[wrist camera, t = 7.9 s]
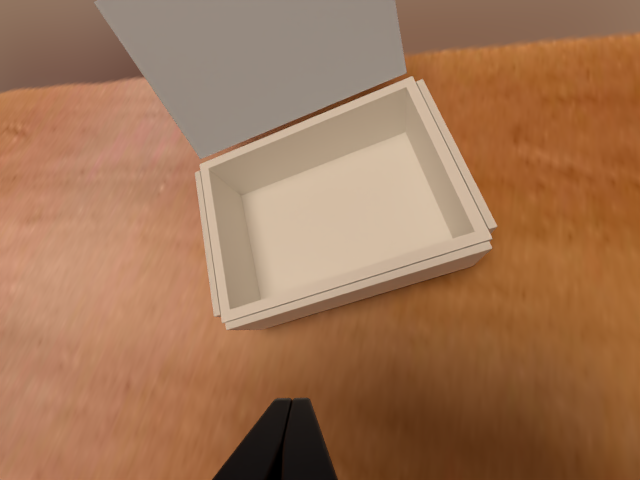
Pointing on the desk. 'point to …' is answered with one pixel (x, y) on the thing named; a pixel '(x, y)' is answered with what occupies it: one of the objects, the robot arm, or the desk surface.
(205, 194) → the carton
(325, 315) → the desk surface
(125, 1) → the carton flap
